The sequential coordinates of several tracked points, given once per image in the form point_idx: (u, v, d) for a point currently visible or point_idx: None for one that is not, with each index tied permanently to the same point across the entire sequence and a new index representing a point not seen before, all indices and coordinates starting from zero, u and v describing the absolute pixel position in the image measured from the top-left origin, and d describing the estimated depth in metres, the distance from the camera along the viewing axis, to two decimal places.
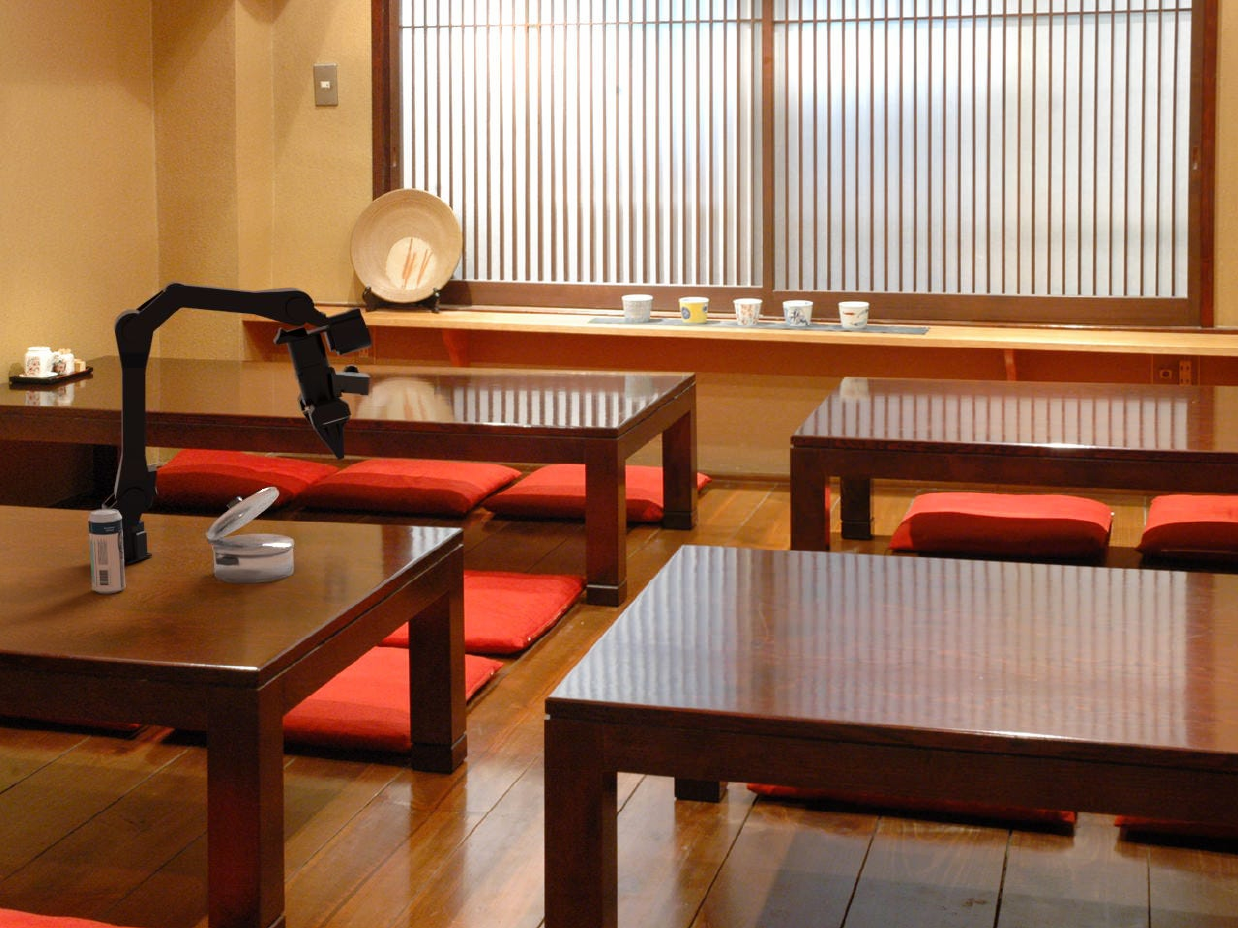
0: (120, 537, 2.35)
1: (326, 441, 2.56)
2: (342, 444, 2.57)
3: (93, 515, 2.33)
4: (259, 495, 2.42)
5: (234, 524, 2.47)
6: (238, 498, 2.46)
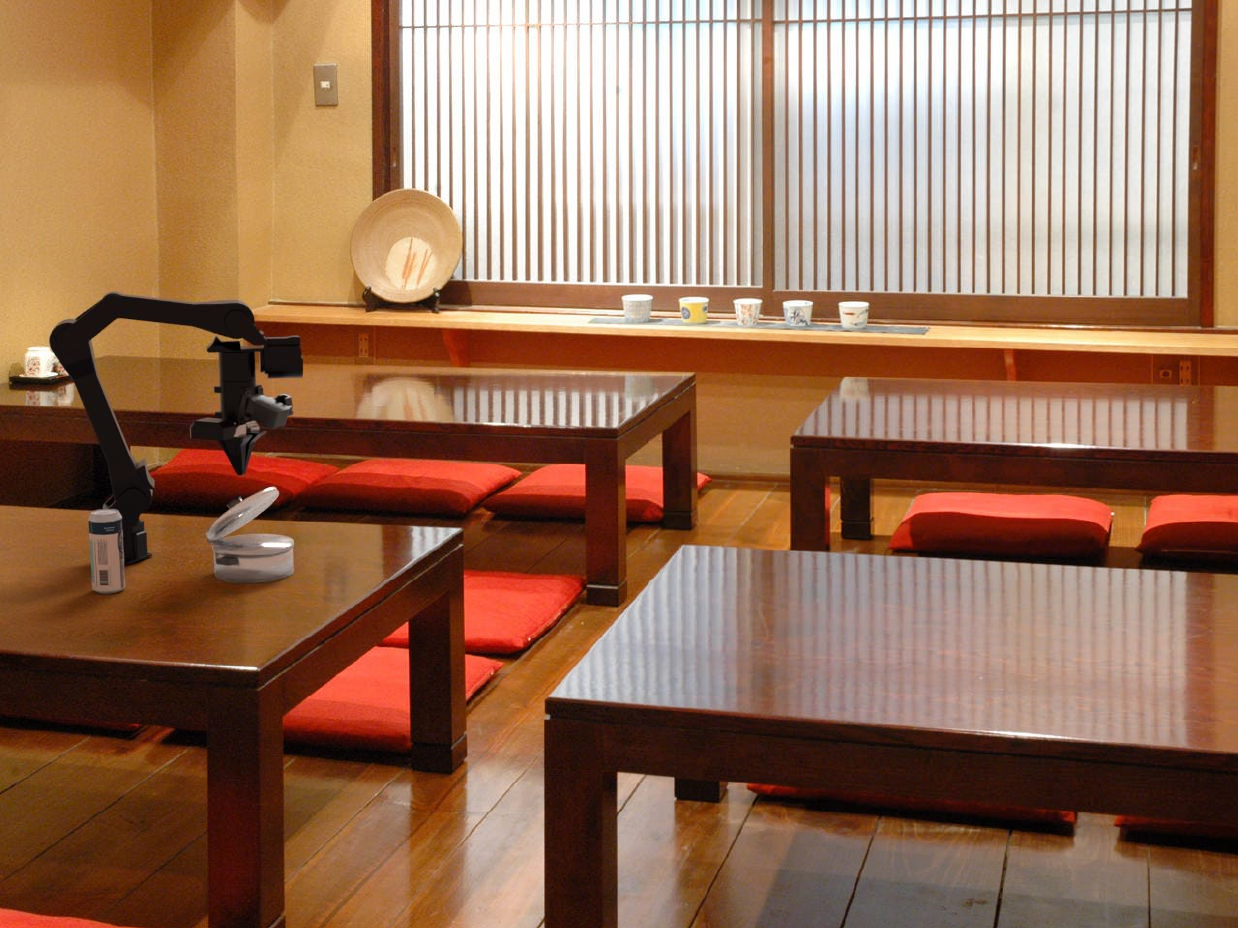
0: (120, 537, 2.35)
1: (226, 453, 2.56)
2: (240, 461, 2.56)
3: (93, 515, 2.33)
4: (259, 495, 2.42)
5: (234, 524, 2.47)
6: (238, 498, 2.46)
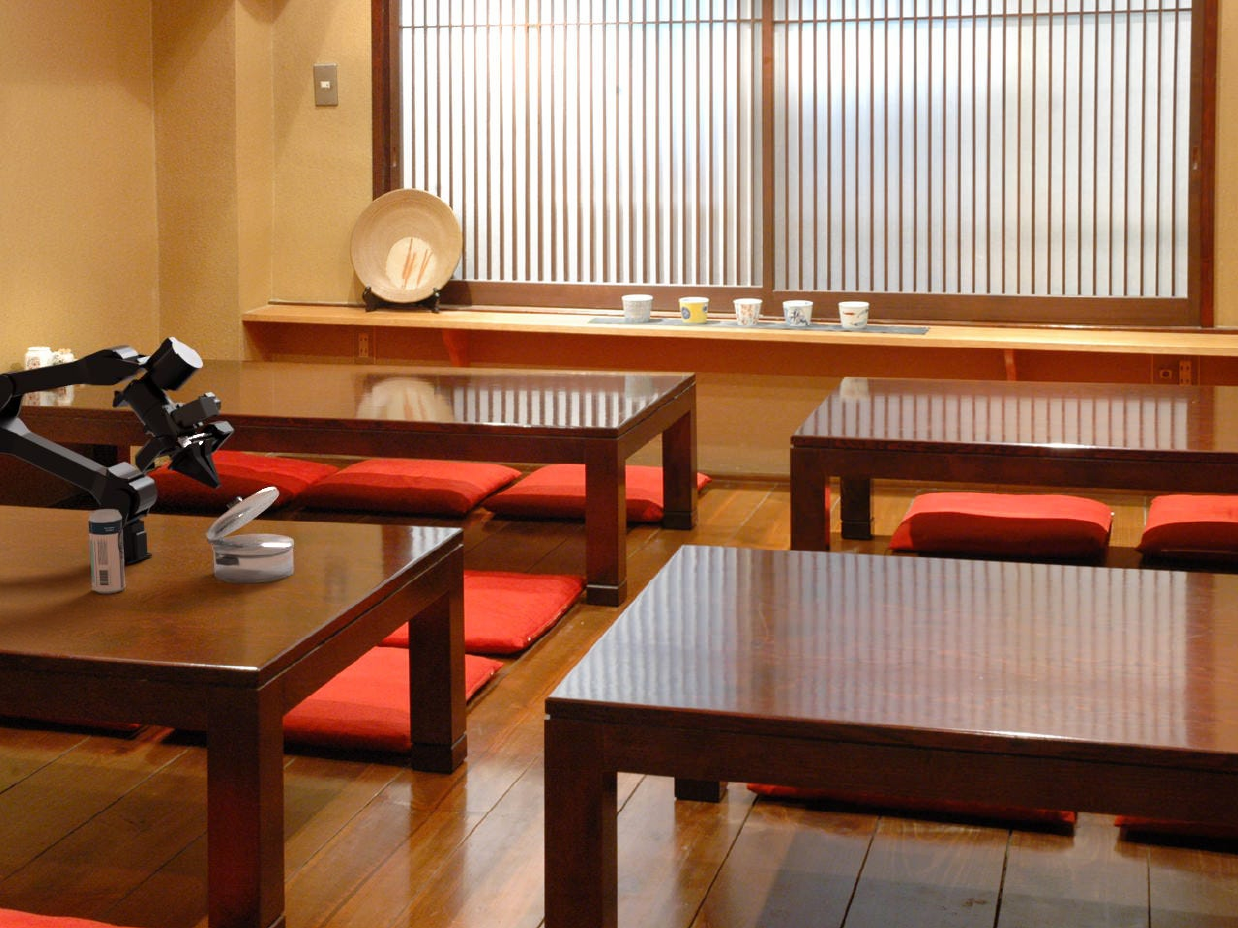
0: (120, 537, 2.35)
1: (191, 476, 2.47)
2: (207, 473, 2.46)
3: (93, 515, 2.33)
4: (259, 495, 2.42)
5: (234, 524, 2.47)
6: (238, 498, 2.46)
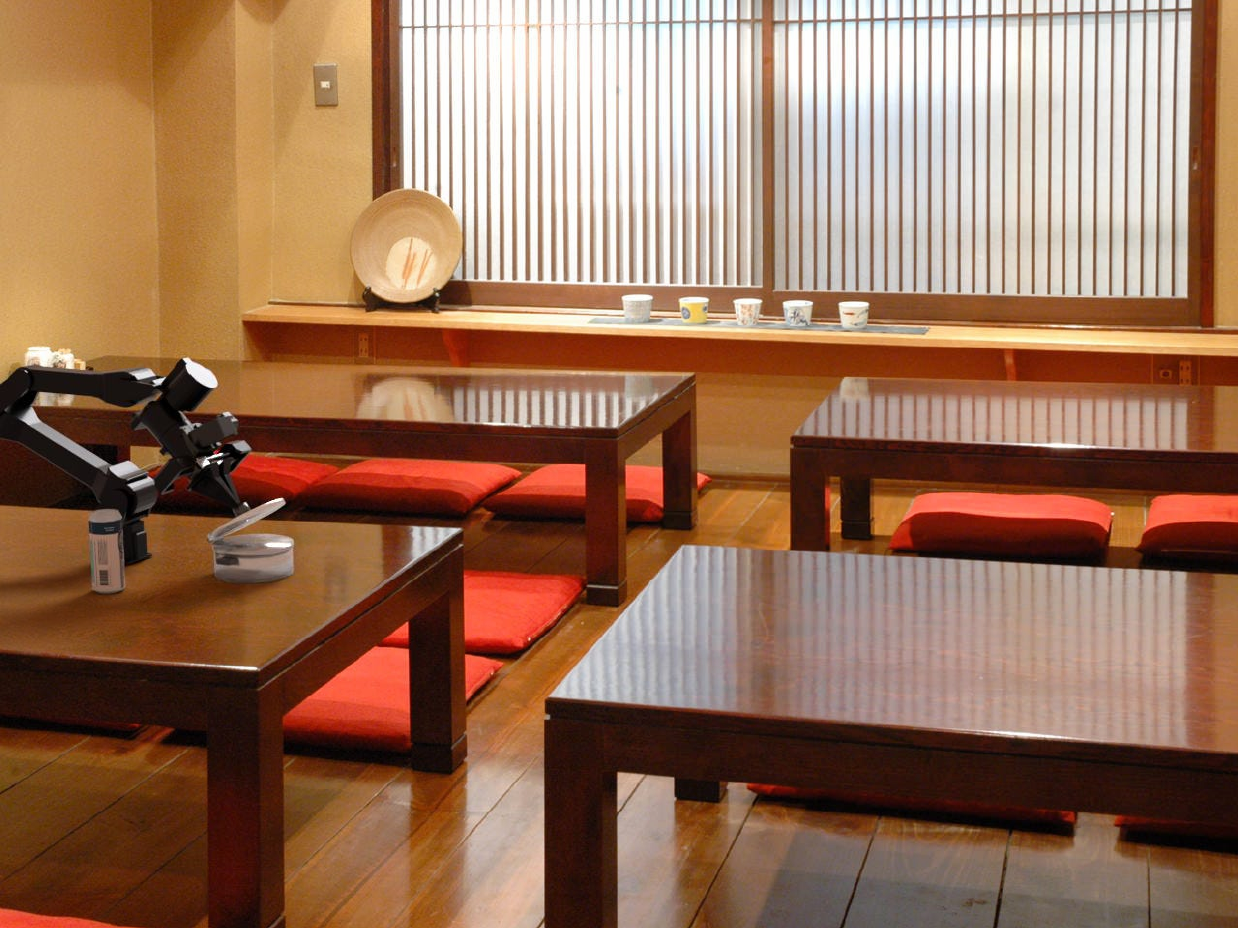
0: (120, 537, 2.35)
1: (210, 496, 2.46)
2: (226, 492, 2.45)
3: (93, 515, 2.33)
4: (267, 507, 2.42)
5: (236, 528, 2.47)
6: (244, 504, 2.45)
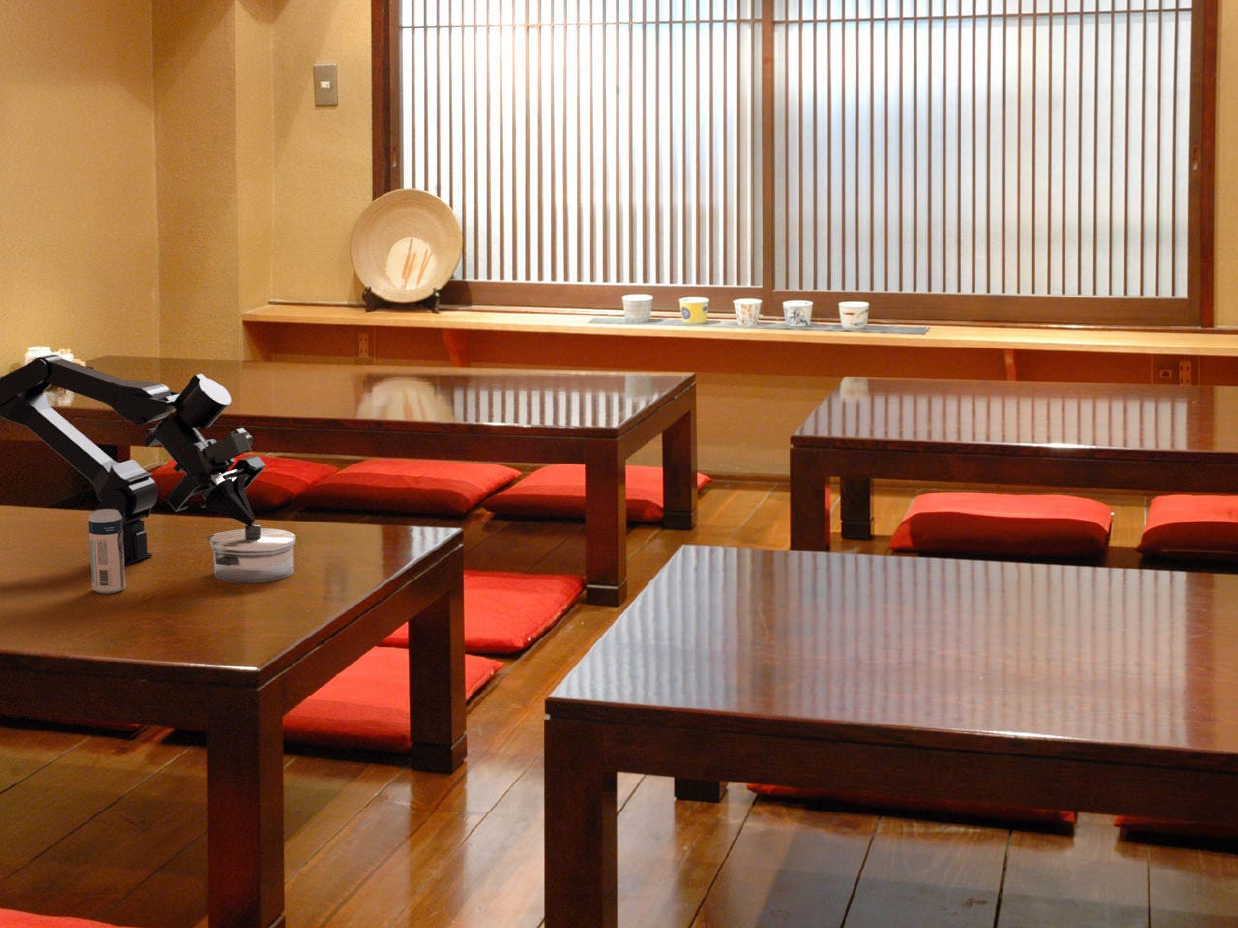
0: (120, 537, 2.35)
1: (225, 513, 2.45)
2: (240, 509, 2.45)
3: (93, 515, 2.33)
4: (278, 548, 2.42)
5: None
6: (258, 527, 2.45)
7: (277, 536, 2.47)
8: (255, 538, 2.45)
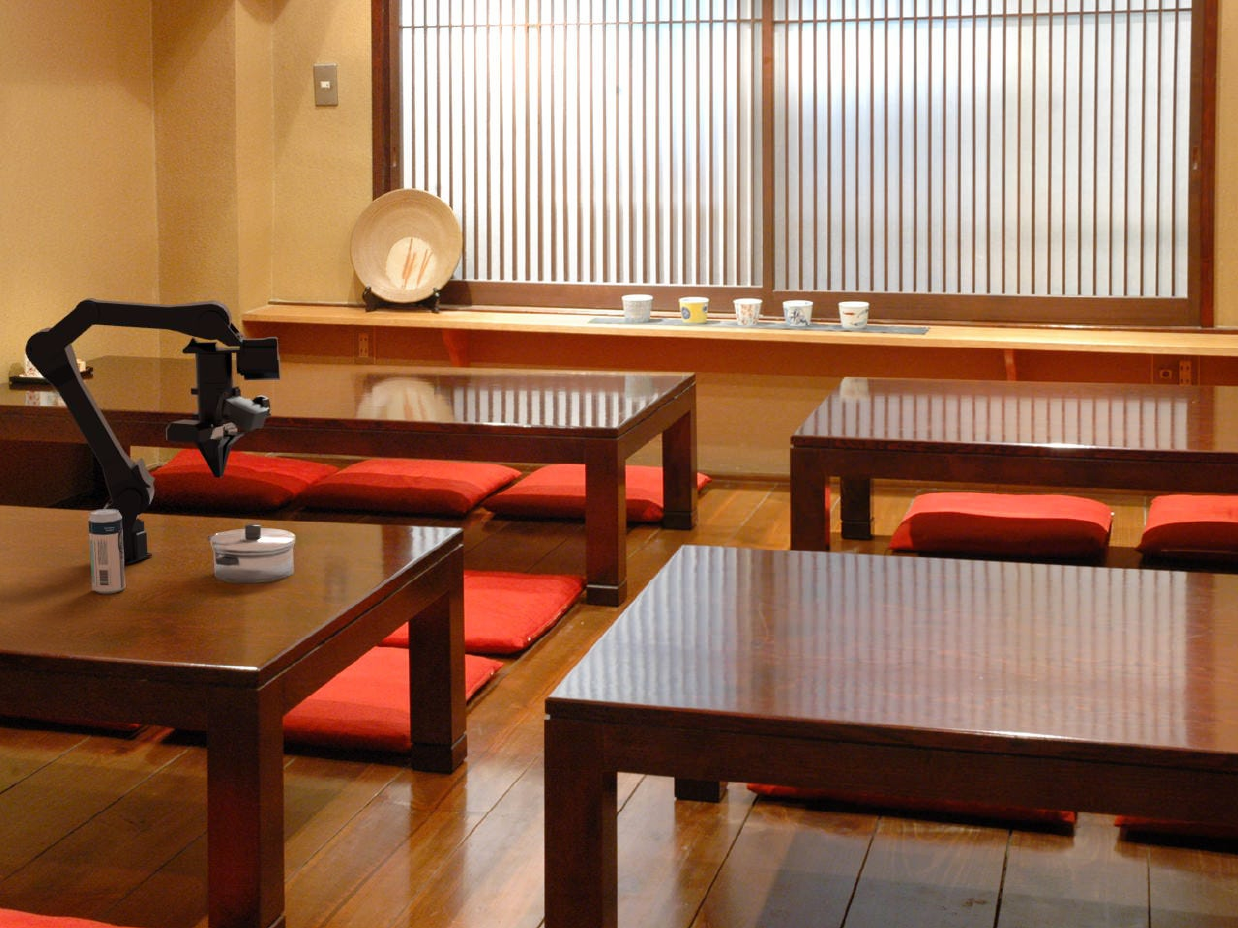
0: (120, 537, 2.35)
1: (203, 455, 2.54)
2: (217, 464, 2.53)
3: (93, 515, 2.33)
4: (278, 548, 2.42)
5: None
6: (258, 527, 2.45)
7: (277, 536, 2.47)
8: (255, 538, 2.45)
